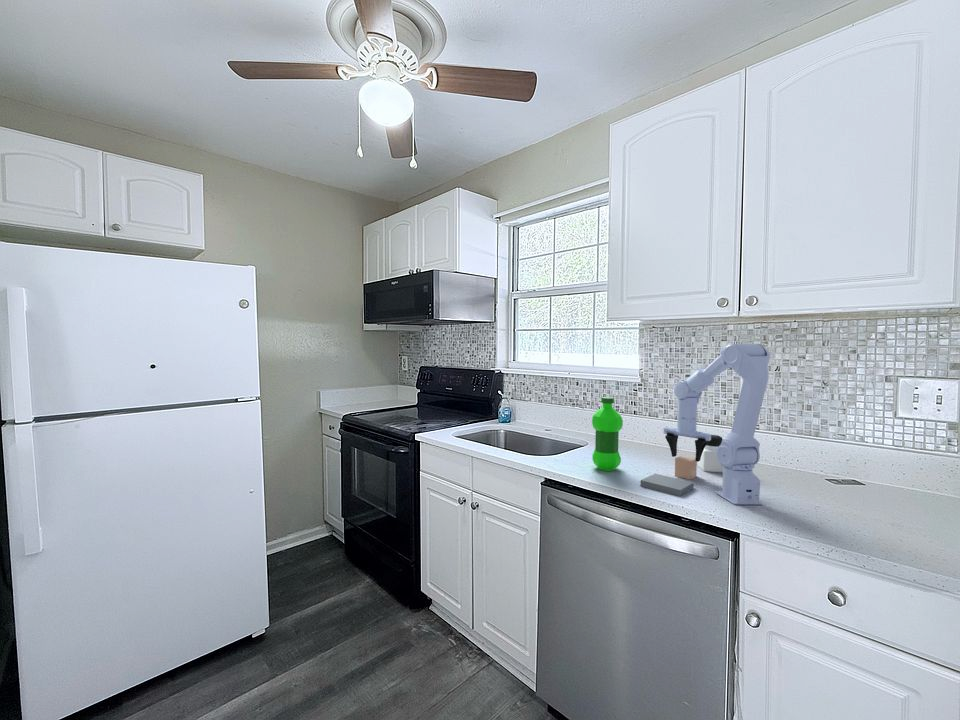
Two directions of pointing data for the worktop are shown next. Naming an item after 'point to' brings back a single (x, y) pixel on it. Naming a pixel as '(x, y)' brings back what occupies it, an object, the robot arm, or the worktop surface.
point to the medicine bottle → (711, 456)
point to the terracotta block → (685, 467)
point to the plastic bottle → (607, 436)
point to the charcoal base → (667, 484)
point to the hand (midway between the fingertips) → (685, 458)
